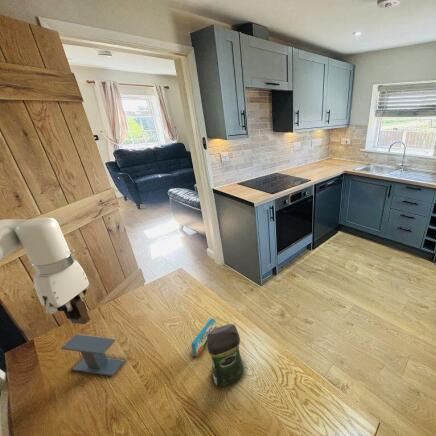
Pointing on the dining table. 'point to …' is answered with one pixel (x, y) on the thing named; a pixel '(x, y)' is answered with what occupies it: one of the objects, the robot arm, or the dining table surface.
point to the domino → (79, 311)
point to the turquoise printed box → (202, 337)
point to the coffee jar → (225, 354)
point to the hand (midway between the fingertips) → (78, 314)
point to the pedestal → (93, 354)
